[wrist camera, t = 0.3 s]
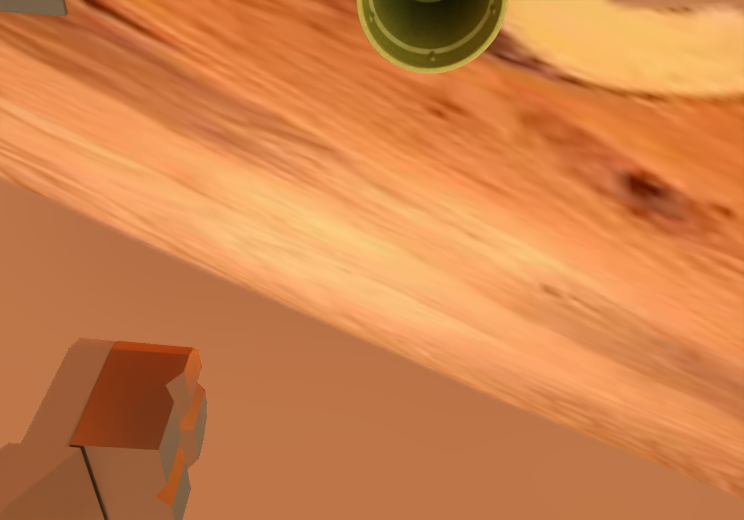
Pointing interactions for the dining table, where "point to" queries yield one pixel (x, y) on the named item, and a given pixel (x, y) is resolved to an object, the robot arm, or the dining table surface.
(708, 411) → the dining table surface
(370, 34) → the plant pot
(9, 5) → the felt mat
